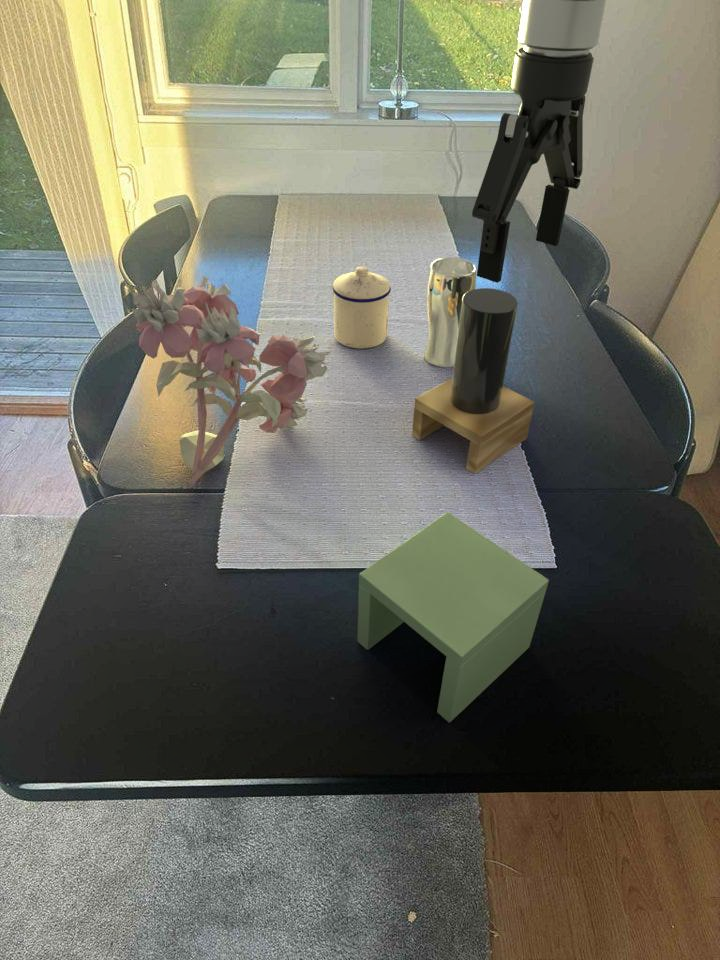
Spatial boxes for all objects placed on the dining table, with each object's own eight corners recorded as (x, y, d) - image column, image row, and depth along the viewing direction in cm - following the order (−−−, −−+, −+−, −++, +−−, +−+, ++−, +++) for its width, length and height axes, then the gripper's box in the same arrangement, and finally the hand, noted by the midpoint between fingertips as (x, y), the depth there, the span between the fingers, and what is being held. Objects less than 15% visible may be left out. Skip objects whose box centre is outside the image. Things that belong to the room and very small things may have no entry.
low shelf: (526, 438, 94) (535, 402, 90) (474, 474, 89) (481, 436, 85) (464, 404, 100) (469, 368, 96) (411, 435, 94) (414, 398, 91)
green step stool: (529, 647, 69) (549, 579, 62) (449, 723, 62) (462, 657, 56) (438, 578, 75) (447, 511, 69) (357, 641, 69) (358, 573, 62)
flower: (325, 510, 81) (343, 287, 74) (124, 500, 78) (124, 267, 72) (318, 468, 100) (331, 288, 94) (156, 458, 97) (159, 272, 91)
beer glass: (417, 348, 112) (424, 257, 102) (458, 344, 113) (470, 255, 103) (428, 371, 107) (436, 278, 97) (471, 367, 108) (484, 275, 98)
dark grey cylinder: (509, 401, 90) (528, 301, 81) (478, 420, 87) (494, 318, 78) (471, 381, 94) (485, 283, 85) (439, 399, 91) (451, 299, 81)
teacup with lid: (399, 339, 114) (403, 271, 106) (354, 356, 110) (355, 286, 102) (356, 311, 121) (357, 245, 114) (312, 325, 117) (310, 258, 109)
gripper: (577, 29, 77) (541, 222, 91) (451, 61, 62) (431, 285, 76) (643, 38, 74) (595, 237, 87) (526, 73, 59) (491, 306, 73)
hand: (519, 259), depth 82 cm, fingers open, 13 cm apart
